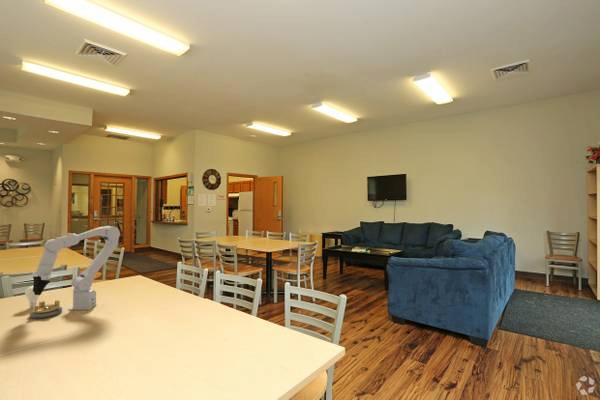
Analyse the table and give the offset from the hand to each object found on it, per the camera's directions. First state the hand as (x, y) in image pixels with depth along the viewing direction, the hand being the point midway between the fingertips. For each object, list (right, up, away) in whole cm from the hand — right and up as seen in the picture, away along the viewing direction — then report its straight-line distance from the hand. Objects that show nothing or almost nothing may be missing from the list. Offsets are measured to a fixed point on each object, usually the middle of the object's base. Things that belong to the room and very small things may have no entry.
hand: (36, 293), depth 143 cm
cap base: (+2, -11, +3) cm, 12 cm away
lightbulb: (-13, -11, +13) cm, 21 cm away
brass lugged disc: (+2, -9, +3) cm, 10 cm away
